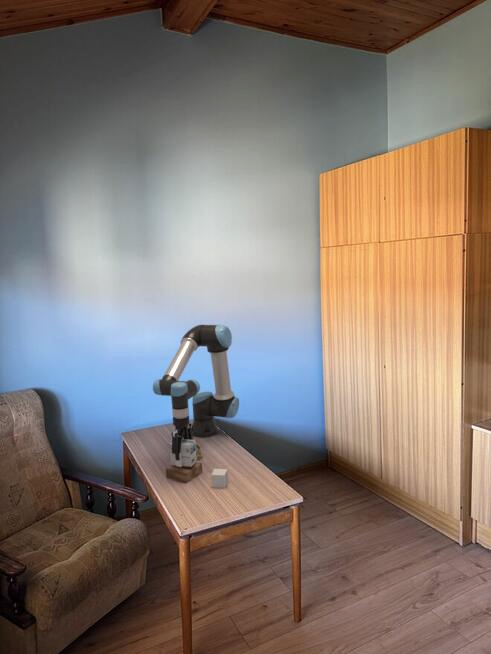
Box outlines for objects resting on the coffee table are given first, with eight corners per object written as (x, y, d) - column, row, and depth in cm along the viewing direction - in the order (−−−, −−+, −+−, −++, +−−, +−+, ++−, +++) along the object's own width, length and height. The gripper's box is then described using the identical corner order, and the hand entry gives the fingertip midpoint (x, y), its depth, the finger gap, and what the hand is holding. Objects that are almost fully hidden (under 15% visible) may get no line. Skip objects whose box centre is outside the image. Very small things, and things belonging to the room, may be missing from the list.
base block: (182, 468, 244) (182, 458, 243) (202, 473, 237) (201, 463, 236) (166, 478, 234) (165, 468, 233) (186, 484, 227) (185, 473, 226)
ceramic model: (177, 453, 261) (176, 434, 259) (197, 448, 266) (196, 430, 264) (187, 463, 249) (186, 444, 247) (208, 457, 254) (207, 439, 252)
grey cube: (215, 481, 229) (214, 468, 228) (227, 481, 227) (227, 469, 226) (211, 487, 223) (211, 474, 222) (225, 488, 222) (224, 475, 221)
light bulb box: (197, 461, 236) (195, 439, 234) (191, 467, 230) (190, 445, 228) (176, 459, 239) (174, 437, 237) (170, 465, 233) (168, 443, 231)
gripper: (185, 408, 241) (188, 453, 245) (161, 422, 223) (164, 470, 227) (199, 409, 238) (201, 455, 242) (175, 424, 220) (178, 473, 224)
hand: (183, 462), depth 234 cm, fingers closed on light bulb box, 7 cm apart
